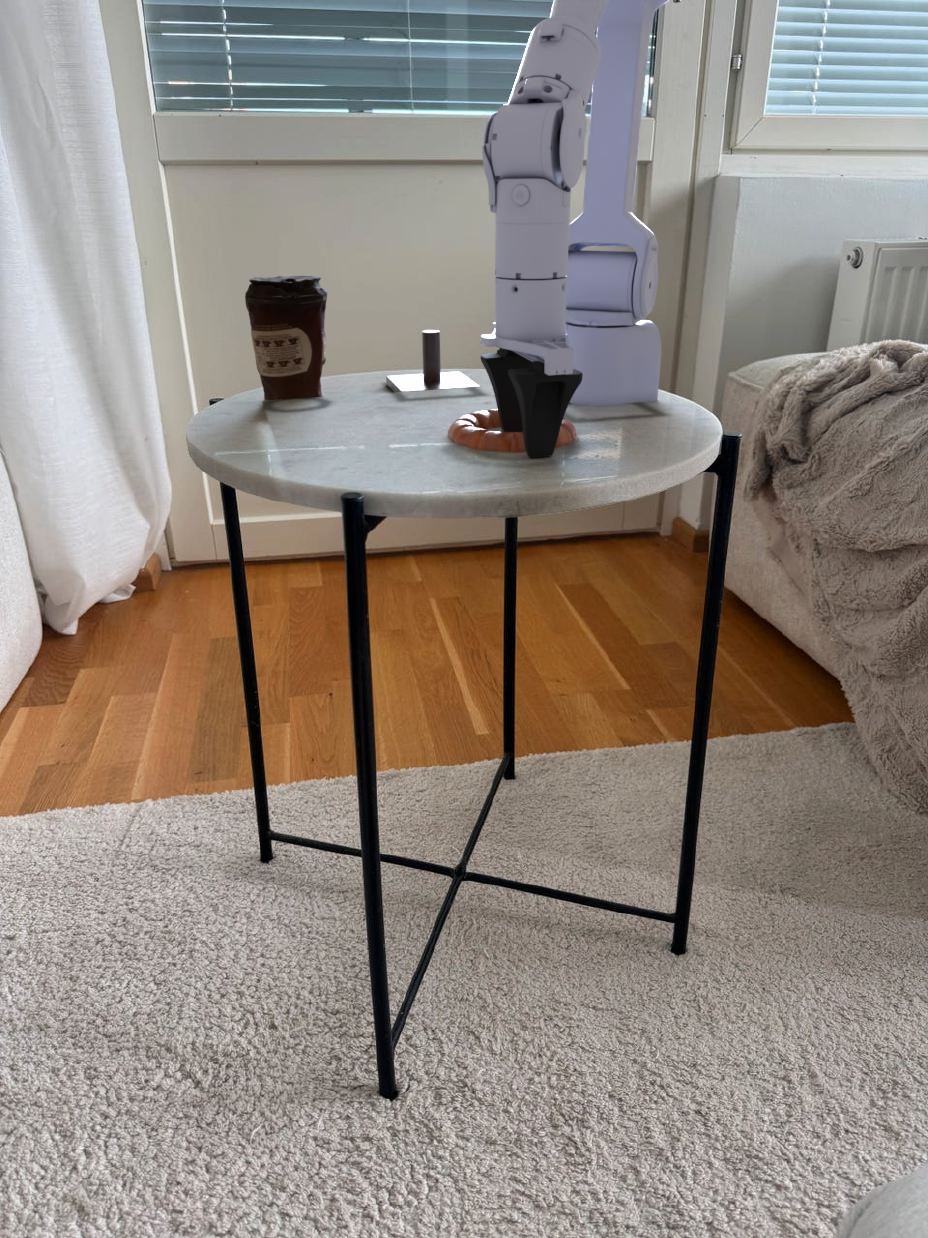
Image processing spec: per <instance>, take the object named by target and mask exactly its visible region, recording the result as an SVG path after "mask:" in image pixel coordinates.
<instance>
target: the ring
mask: <svg viewBox="0 0 928 1238" xmlns="http://www.w3.org/2000/svg"><path fill="white" fill-rule="evenodd" d="M494 428H501V424H500V419H499V413H498V408H492V409H491V408H490V409H482V410H477V411H474V412H470V413H466V414H463V415H461V416H459V417H458V418H457V419H456V420H455V421H453V423H451V424H450V426H449V428H448V429H447V437H448V438H449V439H450V440H451V441H452V442H453V443H454V444H455V445H458V446H462V447H466V448H470V449H473V450H476V451H484V452H496V453H497V452H498V453H514V454H515V453H516V454H517V453H526V449H525V444H524V437H523V432H502V430H491V429H494ZM576 435H577V431H576V427H575V426H574V424H573V423H572V421H570V420H568V419H567V418H565V417H564V418H563V421H562V424H561V428H560V432H559V435H558V439H557V443H556V446H555V449H557V448H559V447H560V448H561V447H563V446H566V445H569V444H571V443H572V442H573V441H574V439H575V437H576Z"/></svg>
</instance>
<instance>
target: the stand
mask: <svg viewBox="0 0 928 1238" xmlns="http://www.w3.org/2000/svg"><path fill="white" fill-rule="evenodd" d="M421 343H422V344H421V345H422V346H421V347H422V373H411V374H395V375H386V376H385V378H386V379H385V380H386V385H387V386H388V387H389V388H390V389H391V390H392V392H393V393H407V392H421V391H422V392H423V391H437V390H451V389H454V390H455V389H467V388H481V385H479V384H477V383H476V382H475V381H473V379H471V378H469V377H468V376H466V375H465V374H464V373H462V372H461V371H446V372H445V371H443V372H442V371H441V370H442V367H441V331H440V330H437V329H425V330H422V331H421Z"/></svg>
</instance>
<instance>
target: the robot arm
mask: <svg viewBox="0 0 928 1238" xmlns="http://www.w3.org/2000/svg"><path fill="white" fill-rule="evenodd" d="M552 2H553V3H552V6H551V11H550V15H549V17H547V18H545V19H543V20H541V21H540V22H539V23H537V24H536V25H535V27H534V28H533V29H532V31H531V33H530V36H529V38H528V41H527V44H526V47H525V50H524V53H523V57H522V60H521V63H520V66H519V69H518V72H517V75H516V78H515V81H514V84H513V87H512V91H511V93H510V96H509V99H508V103H505V104H503V105H502V106H500V107H499V108H498V110H497V111H496V112H493V113H491V115H489V117H488V119H487V121H486V125H485V129H484V134H483V144H482V146H481V151H482V152H481V153H482V164H483V170H484V174H485V177H486V181H487V186H488V205H489V210H490V213H493V214H495V216H494V217H495V224H494V225H495V226H494V227H495V231H494V232H495V233H494V235H495V236H494V237H495V240H494V241H495V242H494V243H495V244H494V247H495V249H494V250H495V251H494V276H495V277H494V321H493V322H492V324H491V325H492V327H491V328H492V329H491V330H492V333H487V334H481V335H480V344H481V345H482V346H483V347H488V348H493V347H496V348H498V349H497V350H496V352H490V353H482V354H480V361H481V363H482V365H483V368H484V369H485V371H486V373H487V376H488V378H489V381H490V384H491V387H492V391H493V393H494V398H495V403H496V409H498V413H499V419H500V424H501V427H500V428H501V431H502V432H523V437H524V444H525V449H526V452H525V453H526V455H527V456H528V458H541V457H551V456H553V455H554V452H555V449H556V448H555V446H556V443H557V439H558V435H559V432H560V428H561V424H562V421H563V418H565V415H566V412H567V409H568V407H569V404H574V405H578V406H585V407H586V406H587V407H613V406H620V405H626V404H627V405H628V404H636V403H648V402H649V403H650V402H657V401H658V399H659V387H660V376H661V375H660V374H661V365H662V339H661V338H662V337H661V333H660V331H659V328H658V326H657V325H656V323H654V322H653V321H652V320H649V319H648V320H647V319H646V318H647V316H648V315H649V314H651V312H652V311H653V308H654V307H655V306H654V305H655V302H656V299H657V293H658V286H659V285H658V283H659V266H658V253H659V243H658V240H657V238H656V235H655V234H654V232H653V231H652V230H651V229H650V228H649V227H648V226H646V225H645V224H644V223H643V222H642V221H641V220H640V219H638V218H637V217H636V215H635V214H634V213H633V210H634V200H635V199H634V198H635V189H636V180H637V179H636V177H637V169H638V158H639V147H640V136H641V127H642V115H643V106H644V96H645V95H644V94H645V86H646V85H645V84H646V74H647V64H648V55H649V45H650V39H651V38H650V37H651V32H652V28H653V23H654V18H655V13H656V11H657V10H658V9H659V8H661V7H662V6H664V5H665V4H666V3H668V2H670V0H553V1H552ZM595 33H596V34H595ZM590 95H591V99H590V113H589V114H590V115H589V125H588V120H587V116H586V108H587V105H588V102H589V98H590ZM588 126H589V127H588ZM587 127H588V129H587ZM587 132H588V137H587V138H588V139H587V152H586V163H585V174H584V175H585V177H584V188H583V191H584V192H583V199H582V200H583V201H582V202H583V203H582V212H581V214H580V215H578V217H576V218H575V219H574V220H573V221H571V220H570V219H571V195H572V188H574V187H575V186H576V185H577V184H578V181H579V179H580V176H581V174H582V170H583V165H584V159H585V158H584V157H585V145H586V144H585V143H586V136H587ZM570 221H571V222H570ZM588 247H589V248H590V247H617V248H631V249H633V251H628V250H627V251H625V250H624V251H620V250H586V249H585V248H588ZM583 249H585V250H583Z"/></svg>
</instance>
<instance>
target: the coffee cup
mask: <svg viewBox="0 0 928 1238" xmlns="http://www.w3.org/2000/svg"><path fill="white" fill-rule="evenodd" d="M321 279H322V278H321V277H320V276H314V275H291V276H282V275H279V276H273V277H262V276H261V277H251V278H250V279H249V280H248V281H249V283H250V284H249V285H248V288H247V290H246V292H245V296H244V299H245V300H244V302H245V308H246V310H247V312H248V317H249V324H250V330H251V331H250V334H251V340H252V347H253V350H254V352H253V353H254V357H255V363H256V369H257V372H258V373H259V378H260V381H261V385H262V390H263V399H264V402H269V401H270V402H271V401H283V400H299V399H300V400H301V399H314V398H317V399H318V398H324V395H323V393H322V383H321V379H322V374H323V367H324V366H325V364H326V361H327V359H326V347H327V346H326V345H327V341H326V340H327V339H326V338H327V336H326V328H325V320H326V319H325V318H326V310H327V300H328V291H327V290H326V288H324V287H323V286H321V284H320V281H321Z"/></svg>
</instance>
